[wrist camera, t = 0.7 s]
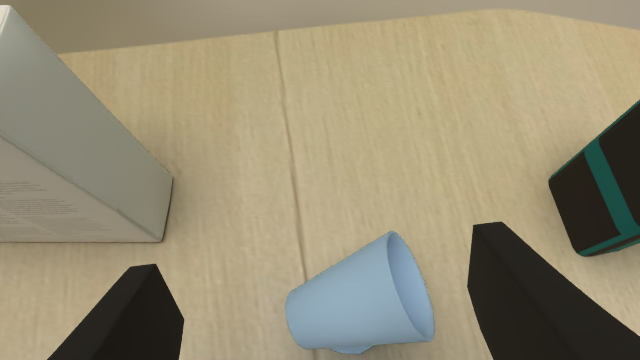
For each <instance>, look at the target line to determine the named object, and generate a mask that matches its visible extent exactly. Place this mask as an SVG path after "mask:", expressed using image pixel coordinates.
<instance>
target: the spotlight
mask: <svg viewBox="0 0 640 360" xmlns="http://www.w3.org/2000/svg"><path fill="white" fill-rule="evenodd" d="M285 311H286V319H287V323H288V327H289V330H290V332H291V334H292V336H293V338H294V339H295V341H296V342H297V343H298V345H300V346H301V347H302V348H304V349H322V348H330V349H332V350H334V351H336V352H339V353H344V354H358V355H359V354H362V353H363V352H364V351H366V350H368V349H370V348H371V347H373V346H374V345H384V344H400V343H415V342H430V341H432V340H433V338H434V332H435V325H434V316H433V310H432V306H431V302H430V298H429V294H428V291H427V288H426V285H425V282H424V279H423V277H422V274H421V272H420V269H419V267H418V265H417V263H416V261H415V259H414V257H413V255H412V253H411V251H410V249H409V248H408V246H407V244H406V243H405V242H404V240H403V239H402V238H401V237H400V235H398V234H397V233H396V232H394V231H390V232H388V233H386V234H385V235H383V236H381V237H380V238H378V239H376V240H375V241H373V242H372V243H370V244H368V245H367V246H365V247H363V248H362V249H360V250H358V251H357V252H355V253H353V254H352V255H350V256H348V257H347V258H345V259H343V260H342V261H340V262H339V263H337V264H335V265H334V266H332V267H330V268H329V269H327V270H325V271H324V272H322V273H320V274H319V275H317V276H315V277H314V278H312V279H310V280H309V281H307V282H305V283H304V284H302V285H301V286H299V287H297V288H296V289H294V290H292V291H291V292H290V293H289V294H288V296H287V299H286V306H285Z"/></svg>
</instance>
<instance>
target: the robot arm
mask: <svg viewBox="0 0 640 360" xmlns="http://www.w3.org/2000/svg"><path fill="white" fill-rule="evenodd" d="M467 288H468V291H469V294H470V298H471V301H472V304H473V308H474V311H475V314H476V317H477V320H478V323H479V326H480V329H481V332H482V334H483V336H484V339H485V341H486V343H487V346H488V348H489V350H490V353H491V355H492V357H493V359H494V360H640V336H638V335H637V334H636V333H634V332H633V331H632V330H630V329H629V328H628V327H626V326H625V325H624V324H622V323H621V322H620V321H619V320H617V319H616V318H615V317H613V316H612V315H611V314H609V313H608V312H607V311H606V310H604V309H603V308H602V307H601V306H599V305H598V304H597V303H595V302H594V301H593V300H592V299H591V298H589V297H588V296H587V295H586V294H585V293H583V292H582V291H581V290H580V289H578V288H577V287H576V286H575V285H574V284H572V283H571V282H570V281H569V280H568V279H566V278H565V277H564V276H563V275H562V274H560V273H559V272H558V271H557V270H556V269H555V268H554V267H552V266H551V265H550V264H549V263H548V262H547V261H546V260H544V259H543V258H542V257H541V256H540V255H539V254H538V253H536V252H535V251H534V250H533V249H532V248H531V247H530V246H529V245H528V244H526V243H525V242H524V241H523V240H522V239H521V238H520V237H519V236H518V235H516V234H515V233H514V232H513V231H512V230H511V229H510V228H509V227H507V226H506V225H505V224H504V223H503V222H493V223H485V224H477V225H473V234H472V244H471V254H470V264H469V274H468V284H467ZM183 325H184V318H183V316H182V314H181V312H180V310H179V308H178V306H177V304H176V302H175V300H174V298H173V296H172V294H171V292H170V290H169V289H168V287H167V285H166V283H165V281H164V279H163V277H162V275H161V273H160V271H159V269H158V267H157V265H156V264H149V265H141V266H133V267H130V268H129V269H128V270H127V271H126V272H125V273H124V274H123V275H122V276H121V277H120V278H119V279H118V281H117V282H116V283H115V284H114V285H113V286H112V287H111V288H110V290H109V291H108V292H107V293H106V294H105V295H104V296H103V298H102V299H101V300H100V301H99V302H98V303H97V305H96V306H95V307H94V308H93V309H92V310H91V311H90V313H89V314H88V315H87V316H86V317H85V318H84V319H83V320H82V322H81V323H80V324H79V325H78V326H77V327H76V328H75V329H74V331H73V332H72V333H71V334H70V335H69V336H68V337H67V338H66V340H65V341H64V342H63V343H62V344H61V345H60V346H59V347H58V348H57V350H56V351H55V352H54V353H53V354H52V355H51V356H50V357H49V358H48V359H47V360H179V355H180V348H181V341H182V333H183Z"/></svg>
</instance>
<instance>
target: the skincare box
mask: <svg viewBox="0 0 640 360" xmlns="http://www.w3.org/2000/svg"><path fill="white" fill-rule="evenodd" d="M172 179H173V178H172V175H171V174H170V173H169V172H168V171H167V170H166V169H165V168H164V167H163V166H162V165H161V164H160V163H159V162H158V161H157V160H156V159H155V158H154V157H153V156H152V155H151V154H150V153H149V152H148V151H147V149H146V148H145V147H144V146H143V145H142V144H141V143H140V142H139V141H138V140H137V139H136V138H135V137H134V136H133V135H132V134H131V133H130V132H129V131H128V130H127V129H126V128H125V126H124V125H123V124H122V123H121V122H120V121H119V120H118V119H117V118H116V117H115V116H114V115H113V114H112V113H111V112H110V111H109V110H108V109H107V108H106V107H105V106H104V105H103V104H102V103H101V101H100V100H99V99H98V98H97V97H96V96H95V95H94V94H93V93H92V92H91V91H90V90H89V89H88V88H87V87H86V86H85V84H84V83H83V82H82V81H81V80H80V79H79V78H78V77H77V76H76V75H75V74H74V73H73V72H72V71H71V70H70V69H69V68H68V67H67V66H66V65H65V63H64V62H63V61H62V60H61V59H60V58H59V57H58V56H57V55H56V54H55V53H54V52H53V51H52V50H51V49H50V48H49V47H48V46H47V45H46V44H45V43H44V41H43V40H42V39H41V38H40V37H39V36H38V35H37V34H36V33H35V32H34V31H33V30H32V29H31V28H30V27H29V26H28V24H27V23H26V22H25V21H24V20H23V19H22V18H21V17H20V16H19V15H18V14H17V12H15V10H14V9H13V8H12V7H11V6H9V5H0V242H160V241H161V240H162V237H163V233H164V227H165V222H166V217H167V212H168V207H169V201H170V195H171V187H172Z"/></svg>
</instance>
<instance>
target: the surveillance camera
mask: <svg viewBox="0 0 640 360" xmlns="http://www.w3.org/2000/svg"><path fill="white" fill-rule="evenodd" d="M549 187H550V190H551V192H552V195H553V197H554V200H555V202H556V205H557V207H558V210H559V213H560V215H561V218H562V220H563V223H564V225H565V228H566V230H567V233H568V235H569V238H570V240H571V243H572V246H573V248H574V249H575V251H576V252H577V253H578V254H580V255H582V256H595V255H600V254H604V253H609V252H614V251H619V250H621V249H624V248H627V247H629V246H632V245H635V244H638V243H640V100H639V101H638V102H637V103H635V104H634V105H633V106H632V107H631V108H630V109H628V110H627V111H626V112H625V113H624V114H623V115H621V116H620V117H619V118H618V119H617V120H616V121H615V122H613V123H612V124H611V125H610V126H609V127H608V128H606V129H605V130H604V131H603V132H602V133H601V134H599V135H598V136H597V137H596V138H595V139H594V140H593V141H591V142H590V143H589V144H588V145H587V146H586V147H584V148H583V149H582V150H581V151H580V152H579V153H577V154H576V155H575V156H574V157H573V158H572V159H571V160H569V161H568V162H567V163H566V164H565V165H564V166H562V167H561V168H560V169H559V170H558V171H557V172H555V173H554V174H553V175H552V176H551V178H550V179H549Z"/></svg>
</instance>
